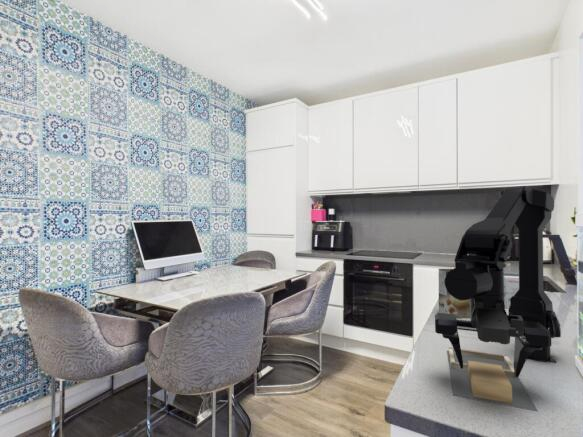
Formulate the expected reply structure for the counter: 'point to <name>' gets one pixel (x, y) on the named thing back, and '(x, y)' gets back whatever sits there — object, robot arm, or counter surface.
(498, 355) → the frame
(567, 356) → the counter surface
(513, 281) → the ink box
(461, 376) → the mat
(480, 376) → the tile
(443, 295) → the coffee box
